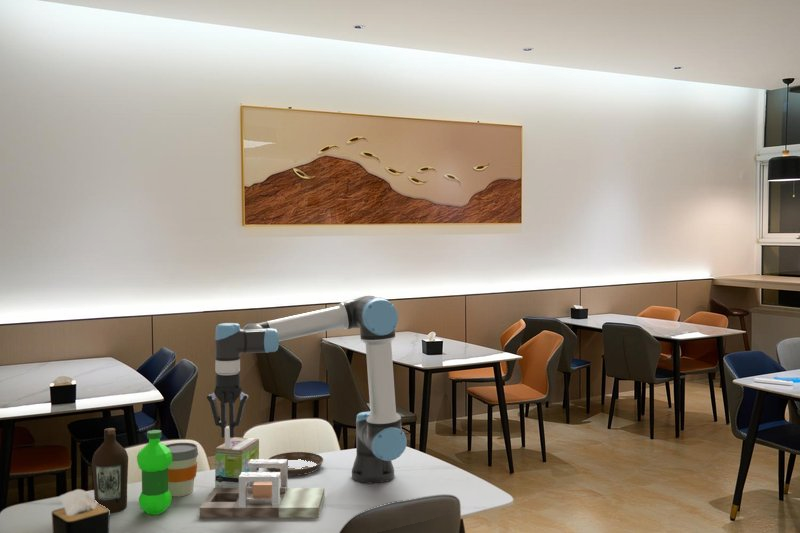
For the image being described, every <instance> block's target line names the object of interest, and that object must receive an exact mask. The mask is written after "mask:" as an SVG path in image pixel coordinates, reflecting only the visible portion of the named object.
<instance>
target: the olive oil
mask: <svg viewBox="0 0 800 533" xmlns="http://www.w3.org/2000/svg"><path fill="white" fill-rule="evenodd" d="M103 432H104V433H103V442H102V443H101V445H100V446H99V447H98V448H97V449H96V450H95V451H94V453H93V456H92V459H91V468H92V478H93V482H92V483H93V495H94V496H93V497H94V501H95V500H96V501H97V502H98V503H99V504H101V505H103V506H105V507H106V508H108V509H109V510H110V513H109V514H112V513H118V512H121V511H123V510H125V509H126V508H127V506H128V478H129V477H128V476H129V454H128V451H127V450H126V449H125V448H124V447H123V446H122V445H121V444H120V443H119V442H118V441H117V439H116V435H117V434H116V428H114V427H109V428H105V429H104V431H103ZM120 510H121V511H120ZM117 511H118V512H117Z"/></svg>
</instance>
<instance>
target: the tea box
mask: <svg viewBox="0 0 800 533" xmlns="http://www.w3.org/2000/svg"><path fill="white" fill-rule="evenodd" d="M231 443H232V447H231V448H230V449H225V442H223V443H222V444H220V445H218V446H217V447H216V448H215V457H214V458H215V464H214V465H215V467H214V469H215V470H214V473H215V474H214V475H215V476H214V477H215V479H214V488H239V476H240V474H241V473H242V472H250V468H248V462H249V461H250V459H260V439H259V438H253V437H252V438H251V437H250V438H249V437H237V436H234V437H233V438H231ZM259 469H260V468H257V472H260V470H259ZM248 487H250V482H247V488H248Z"/></svg>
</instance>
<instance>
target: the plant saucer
mask: <svg viewBox="0 0 800 533" xmlns="http://www.w3.org/2000/svg"><path fill="white" fill-rule="evenodd" d="M268 459H287V461H288V460H298V459H301V460H304V461H305V460H306V461H307V462H308V461H310V462H311V461H312V462H314V463H316V464H317V465H316V466H313V467H308V466H305V467H302V468H303V469H302V468H301V469H295V468H288V476H299V475H298V474H302V475H306V474H305V473H307V474H310V473H309V472H311V473H313V472H315V471H317V470H318V469H319V468H320V467H321V465H322V464H323V462H324V457H323V456H321V455H320V454H318V453H313V452H306V451H291V452H283V453H277V454H276V455H273V456H270V457H269V458H268ZM288 467H289V466H288ZM269 469H270V470H271V471H272V472H280V468H269ZM312 471H313V472H312Z"/></svg>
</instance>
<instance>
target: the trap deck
mask: <svg viewBox="0 0 800 533" xmlns="http://www.w3.org/2000/svg"><path fill="white" fill-rule="evenodd" d="M247 498H253V493H248V487H247ZM280 498H281V504H280V506H279V508H272V504H247V506H246V508H239V488H215V487H214V488H213V489H212V490H211V492H209V494H208V496H207V497H206V498H205V500H204V501H203V502H202V503H201V505H200V506H199V518H202V519H203V518H210V519H211V518H213V519H216V518H222V519H223V518H225V519H226V518H229V519H230V518H237V519H238V518H250V519H251V518H256V519H257V518H259V519H260V518H319V517H320V513H321V510H322V508H323V507H322V506H323V503H324V500H325V487H288V488H287V490H286V493H280Z"/></svg>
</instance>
